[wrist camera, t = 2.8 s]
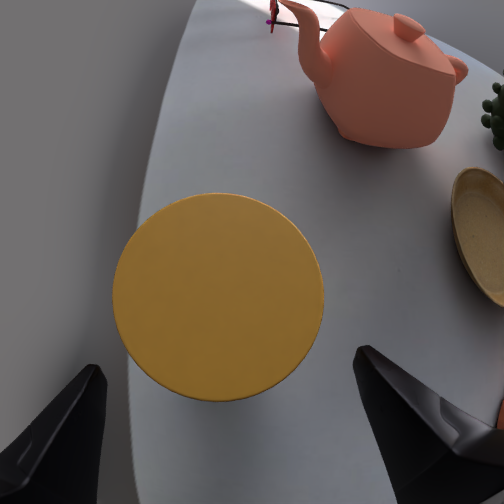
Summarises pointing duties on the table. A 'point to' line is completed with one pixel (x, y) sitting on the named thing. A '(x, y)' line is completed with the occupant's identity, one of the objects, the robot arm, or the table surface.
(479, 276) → the plant saucer
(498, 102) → the toy figurine
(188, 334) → the cylinder
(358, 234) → the table surface
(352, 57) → the teapot
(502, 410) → the pot
